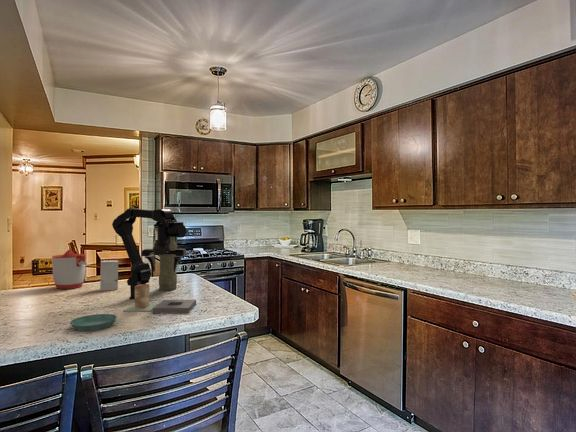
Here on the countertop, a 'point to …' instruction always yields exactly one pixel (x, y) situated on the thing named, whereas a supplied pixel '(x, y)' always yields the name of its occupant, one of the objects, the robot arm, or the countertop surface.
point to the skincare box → (109, 275)
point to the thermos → (168, 269)
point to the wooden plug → (142, 296)
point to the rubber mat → (133, 309)
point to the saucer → (93, 322)
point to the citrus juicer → (69, 270)
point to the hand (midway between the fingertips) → (164, 271)
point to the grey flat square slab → (174, 306)
